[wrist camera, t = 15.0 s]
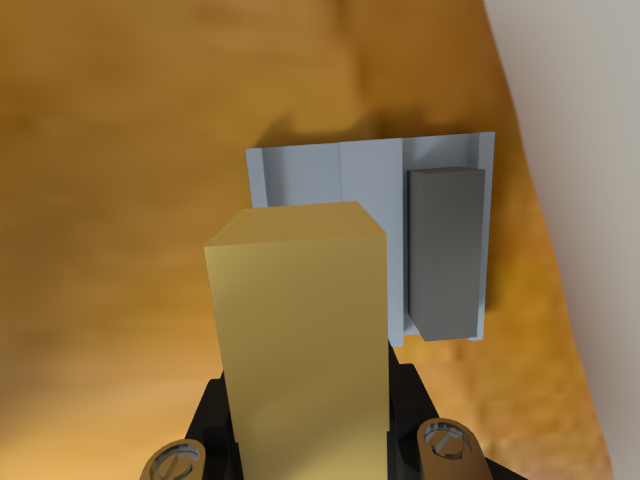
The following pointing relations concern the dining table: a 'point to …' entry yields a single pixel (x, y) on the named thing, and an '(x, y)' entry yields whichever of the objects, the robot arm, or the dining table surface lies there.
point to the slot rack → (373, 193)
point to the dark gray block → (444, 250)
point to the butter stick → (304, 339)
